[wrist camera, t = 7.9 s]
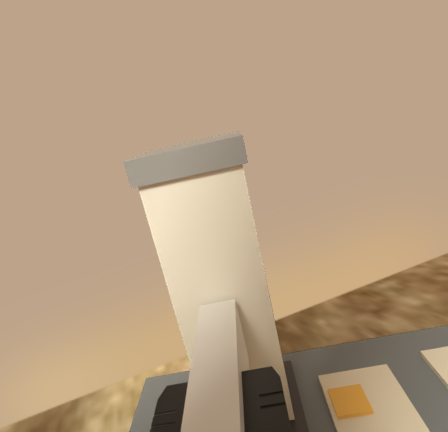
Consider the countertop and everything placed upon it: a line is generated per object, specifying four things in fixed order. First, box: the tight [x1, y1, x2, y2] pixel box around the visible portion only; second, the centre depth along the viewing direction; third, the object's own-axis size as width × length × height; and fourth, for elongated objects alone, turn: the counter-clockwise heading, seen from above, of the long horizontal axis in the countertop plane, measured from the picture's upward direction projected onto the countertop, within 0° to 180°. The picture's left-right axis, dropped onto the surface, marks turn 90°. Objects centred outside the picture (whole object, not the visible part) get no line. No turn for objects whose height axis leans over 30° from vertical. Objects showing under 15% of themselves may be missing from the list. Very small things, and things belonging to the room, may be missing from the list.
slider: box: [124, 131, 295, 420], centre depth 16 cm, size 4×4×13 cm
